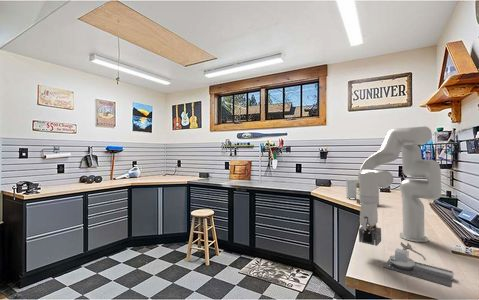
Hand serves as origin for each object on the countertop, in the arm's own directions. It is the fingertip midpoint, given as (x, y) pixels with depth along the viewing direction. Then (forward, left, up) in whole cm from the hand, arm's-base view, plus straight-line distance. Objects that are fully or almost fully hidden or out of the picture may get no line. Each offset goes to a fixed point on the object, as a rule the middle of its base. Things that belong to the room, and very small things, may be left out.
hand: (370, 239), depth 106 cm
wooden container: (-121, -37, -8) cm, 127 cm away
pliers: (-19, +10, -8) cm, 23 cm away
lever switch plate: (+1, +17, -8) cm, 19 cm away
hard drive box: (-140, -52, -8) cm, 150 cm away
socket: (0, 0, -1) cm, 1 cm away
